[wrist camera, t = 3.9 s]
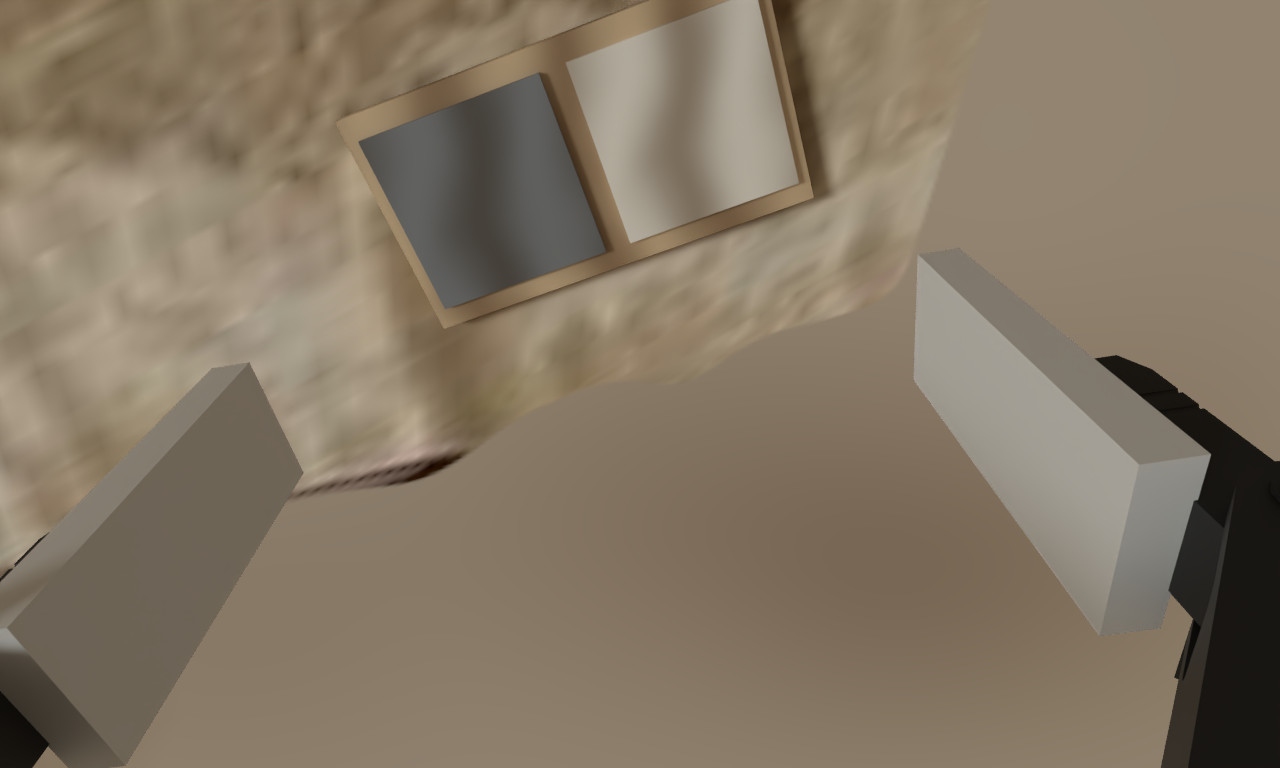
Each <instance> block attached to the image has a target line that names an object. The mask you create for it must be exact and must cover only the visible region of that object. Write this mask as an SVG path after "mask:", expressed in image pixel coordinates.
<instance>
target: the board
mask: <svg viewBox="0 0 1280 768" xmlns="http://www.w3.org/2000/svg"><path fill="white" fill-rule="evenodd" d="M335 123H336V125H337V127H338V129H339V131H340V133H341V135H342V137H343V138H344V140H345V142H346V144H347V146H348V148H349V150H350V152H351V154H352V155H353V157H354V159H355V161H356V163H357V165H358V167H359V169H360V171H361V172H362V174H363V176H364V178H365V180H366V182H367V184H368V186H369V188H370V189H371V191H372V193H373V195H374V197H375V199H376V201H377V203H378V205H379V206H380V208H381V210H382V212H383V214H384V216H385V218H386V220H387V222H388V223H389V225H390V227H391V229H392V231H393V233H394V235H395V237H396V239H397V240H398V242H399V244H400V246H401V248H402V250H403V252H404V254H405V256H406V258H407V259H408V261H409V263H410V265H411V267H412V269H413V271H414V273H415V275H416V276H417V278H418V280H419V282H420V284H421V286H422V288H423V290H424V292H425V293H426V295H427V297H428V299H429V301H430V303H431V305H432V307H433V309H434V310H435V312H436V314H437V316H438V318H439V320H440V322H441V324H442V326H443V327H444V329H445V328H448V327H451V326H454V325H456V324H459V323H462V322H465V321H468V320H471V319H473V318H476V317H479V316H482V315H485V314H487V313H490V312H493V311H496V310H499V309H502V308H504V307H507V306H510V305H513V304H516V303H519V302H521V301H524V300H527V299H530V298H533V297H535V296H538V295H541V294H544V293H547V292H550V291H552V290H555V289H558V288H561V287H564V286H566V285H569V284H572V283H575V282H578V281H581V280H583V279H586V278H589V277H592V276H595V275H597V274H600V273H603V272H606V271H609V270H612V269H614V268H617V267H620V266H623V265H626V264H629V263H631V262H634V261H637V260H640V259H643V258H645V257H648V256H651V255H654V254H657V253H660V252H662V251H665V250H668V249H671V248H674V247H676V246H679V245H682V244H685V243H688V242H691V241H693V240H696V239H699V238H702V237H705V236H708V235H710V234H713V233H716V232H719V231H722V230H724V229H727V228H730V227H733V226H736V225H739V224H741V223H744V222H747V221H750V220H753V219H755V218H758V217H761V216H764V215H767V214H770V213H772V212H775V211H778V210H781V209H784V208H787V207H789V206H792V205H795V204H798V203H801V202H803V201H806V200H809V199H812V198H814V196H813V191H812V187H811V182H810V177H809V173H808V168H807V163H806V159H805V154H804V149H803V145H802V140H801V136H800V131H799V126H798V122H797V117H796V112H795V108H794V103H793V98H792V94H791V89H790V85H789V80H788V75H787V71H786V66H785V61H784V57H783V52H782V48H781V43H780V38H779V34H778V29H777V24H776V20H775V15H774V10H773V6H772V1H771V0H645V1H643V2H640V3H638V4H635V5H633V6H630V7H627V8H625V9H622V10H620V11H617V12H614V13H612V14H609V15H607V16H604V17H601V18H599V19H596V20H594V21H591V22H588V23H586V24H583V25H581V26H578V27H575V28H573V29H570V30H568V31H565V32H562V33H560V34H557V35H555V36H552V37H550V38H547V39H544V40H542V41H539V42H537V43H534V44H531V45H529V46H526V47H524V48H521V49H518V50H516V51H513V52H511V53H508V54H505V55H503V56H500V57H498V58H495V59H492V60H490V61H487V62H485V63H482V64H479V65H477V66H474V67H472V68H469V69H467V70H464V71H461V72H459V73H456V74H454V75H451V76H448V77H446V78H443V79H441V80H438V81H435V82H433V83H430V84H428V85H425V86H422V87H420V88H417V89H415V90H412V91H409V92H407V93H404V94H402V95H399V96H396V97H394V98H391V99H389V100H386V101H384V102H381V103H378V104H376V105H373V106H371V107H368V108H365V109H363V110H360V111H358V112H355V113H352V114H350V115H347V116H345V117H342V118H340V119H338V120H337V121H335Z"/></svg>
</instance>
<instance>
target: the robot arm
mask: <svg viewBox="0 0 1280 768" xmlns="http://www.w3.org/2000/svg"><path fill="white" fill-rule="evenodd" d="M914 381H915V382H916V384H917V385H918V387H919V388H920V389H921V391H922V392H923V393H924V395H925V396H926V397H927V399H928V400H929V402H930V403H931V404H932V406H933V407H934V408H935V410H936V411H937V413H938V414H939V415H940V417H941V418H942V420H943V421H944V422H945V424H946V425H947V427H948V428H949V429H950V431H951V432H952V433H953V435H954V436H955V437H956V439H957V440H958V442H959V443H960V444H961V446H962V447H963V449H964V450H965V451H966V453H967V454H968V455H969V457H970V458H971V460H972V461H973V462H974V464H975V465H976V467H977V468H978V469H979V471H980V472H981V473H982V475H983V476H984V478H985V479H986V480H987V482H988V483H989V484H990V486H991V487H992V489H993V490H994V491H995V493H996V494H997V496H998V497H999V498H1000V500H1001V501H1002V502H1003V504H1004V505H1005V506H1006V508H1007V509H1008V511H1009V512H1010V513H1011V515H1012V516H1013V518H1014V519H1015V520H1016V522H1017V523H1018V525H1019V526H1020V527H1021V529H1022V530H1023V531H1024V533H1025V534H1026V535H1027V537H1028V538H1029V540H1030V541H1031V542H1032V544H1033V545H1034V547H1035V548H1036V549H1037V551H1038V552H1039V553H1040V555H1041V556H1042V558H1043V559H1044V560H1045V562H1046V563H1047V564H1048V566H1049V567H1050V569H1051V570H1052V571H1053V573H1054V574H1055V575H1056V577H1057V578H1058V580H1059V581H1060V582H1061V584H1062V585H1063V587H1064V588H1065V589H1066V591H1067V592H1068V593H1069V595H1070V596H1071V598H1072V599H1073V600H1074V602H1075V603H1076V604H1077V606H1078V607H1079V609H1080V610H1081V611H1082V613H1083V614H1084V616H1085V617H1086V618H1087V620H1088V621H1089V622H1090V624H1091V625H1092V626H1093V628H1094V629H1095V631H1096V632H1097V634H1098V635H1099V636H1105V635H1112V634H1120V633H1127V632H1135V631H1143V630H1151V629H1158V628H1161V625H1162V622H1163V618H1164V615H1165V611H1166V608H1167V604H1168V600H1169V598H1170V594H1172V595H1173V596H1174V598H1175V599H1176V600H1177V601H1178V602H1179V603H1180V604H1181V606H1182V607H1183V608H1184V609H1185V610H1186V611H1187V612H1188V613H1189V615H1190V616H1191V617H1192V618H1193V620H1192V624H1191V627H1190V630H1189V633H1188V636H1187V640H1186V642H1185V646H1184V649H1183V652H1182V655H1181V658H1180V661H1179V664H1178V668H1177V670H1176V674H1175V678H1177V679H1179V681H1178V686H1177V690H1176V695H1175V700H1174V705H1173V710H1172V715H1171V720H1170V725H1169V730H1168V735H1167V740H1166V745H1165V750H1164V755H1163V760H1162V765H1161V768H1280V461H1273V460H1272V459H1271V458H1270V457H1268V456H1267V455H1266V454H1264V453H1263V452H1262V451H1260V450H1259V449H1257V448H1256V447H1255V446H1253V445H1252V444H1251V443H1250V442H1248V441H1247V440H1245V439H1244V438H1243V437H1241V436H1240V435H1239V434H1238V433H1236V432H1235V431H1233V430H1232V429H1231V428H1230V427H1228V426H1227V425H1226V424H1224V423H1223V422H1221V421H1220V420H1219V419H1217V418H1216V417H1215V416H1214V415H1212V414H1211V413H1209V412H1208V411H1207V410H1206V409H1200V408H1199V404H1198V403H1196V402H1195V401H1194V400H1192V399H1191V398H1190V397H1188V396H1187V395H1186V394H1184V393H1183V392H1182V393H1178V389H1177V388H1176V387H1175V386H1173V385H1172V384H1171V383H1170V382H1168V381H1167V380H1166V379H1164V378H1163V377H1162V376H1160V375H1159V374H1158V373H1156V372H1155V371H1153V370H1152V369H1150V368H1147V367H1145V366H1142V365H1139V364H1137V363H1135V362H1132V361H1130V360H1127V359H1125V358H1122V357H1120V356H1117V355H1115V356H1108V357H1102V358H1095V359H1094V358H1093V357H1092V356H1090V355H1089V354H1088V353H1087V352H1086V351H1084V350H1083V349H1082V348H1081V347H1079V346H1078V345H1077V344H1076V343H1074V342H1073V341H1072V340H1071V339H1070V338H1068V337H1067V336H1066V335H1065V334H1064V333H1062V332H1061V331H1060V330H1059V329H1057V328H1056V327H1055V326H1054V325H1053V324H1051V323H1050V322H1049V321H1048V320H1046V319H1045V318H1044V317H1043V316H1041V315H1040V314H1039V313H1038V312H1037V311H1035V310H1034V309H1033V308H1032V307H1031V306H1029V305H1028V304H1027V303H1026V302H1024V301H1023V300H1022V299H1021V298H1019V297H1018V296H1017V295H1016V294H1015V293H1013V292H1012V291H1011V290H1010V289H1008V288H1007V287H1006V286H1005V285H1004V284H1002V283H1001V282H1000V281H999V280H998V279H996V278H995V277H994V276H993V275H991V274H990V273H989V272H988V271H987V270H985V269H984V268H983V267H982V266H980V265H979V264H978V263H977V262H975V261H974V260H973V259H972V258H971V257H969V256H968V255H967V254H966V253H964V252H963V251H962V250H961V249H960V248H956V249H950V250H943V251H937V252H931V253H925V254H919V255H918V270H917V298H916V327H915V357H914ZM302 475H303V471H302V469H301V467H300V465H299V463H298V461H297V459H296V456H295V454H294V452H293V450H292V448H291V446H290V444H289V442H288V440H287V438H286V436H285V434H284V432H283V430H282V428H281V426H280V424H279V422H278V420H277V418H276V416H275V414H274V412H273V410H272V408H271V406H270V404H269V402H268V400H267V397H266V395H265V393H264V391H263V389H262V387H261V385H260V383H259V381H258V379H257V377H256V375H255V373H254V371H253V369H252V367H251V365H250V363H249V362H248V363H242V364H236V365H230V366H224V367H217V368H212V369H211V370H210V371H209V372H208V373H207V374H206V375H205V376H204V377H203V378H202V379H201V380H200V381H199V382H198V383H197V384H196V385H195V386H194V387H193V388H192V389H191V390H190V391H189V392H188V393H187V394H186V395H185V396H184V397H183V398H182V399H181V400H180V401H179V402H178V403H177V404H176V405H175V406H174V407H173V408H172V409H171V410H170V411H169V412H168V413H167V414H166V415H165V416H164V417H163V418H162V419H161V420H160V421H159V422H158V423H157V424H156V425H155V427H154V428H153V429H152V430H151V431H150V432H149V433H148V434H147V435H146V436H145V437H144V438H143V439H142V440H141V441H140V442H139V443H138V444H137V445H136V446H135V447H134V448H133V449H132V450H131V451H130V452H129V453H128V454H127V455H126V456H125V457H124V458H123V459H122V460H121V461H120V462H119V463H118V464H117V465H116V466H115V467H114V468H113V469H112V470H111V471H110V472H109V473H108V474H107V475H106V476H105V477H104V478H103V479H102V480H101V481H100V482H99V483H98V484H97V485H96V486H95V487H94V488H93V489H92V490H91V491H90V492H89V493H88V494H87V495H86V496H85V497H84V498H83V499H82V500H81V501H80V502H79V503H78V504H77V505H76V506H75V507H74V508H73V509H72V510H71V511H70V512H69V513H68V514H67V515H66V516H65V517H64V518H63V519H62V520H61V521H60V522H59V523H58V524H57V525H56V526H55V527H54V528H53V529H52V530H51V531H50V532H49V533H47V534H46V535H45V536H43V537H42V538H40V539H39V540H38V541H37V542H36V543H35V544H34V545H33V546H32V547H31V548H30V549H29V550H28V551H27V552H26V553H25V554H24V555H23V556H22V557H21V558H20V559H19V560H18V561H17V562H16V563H15V564H14V565H15V568H14V569H9V570H8V571H7V572H6V573H5V574H4V575H3V576H2V577H1V578H0V768H32V767H33V766H34V765H35V763H36V762H37V760H38V759H39V758H40V756H41V755H42V754H43V752H44V751H45V749H46V748H47V747H48V746H49V748H50V749H51V750H52V751H53V752H54V753H55V754H56V755H57V756H58V757H59V758H60V759H61V760H62V761H63V763H64V764H65V765H66V766H67V767H68V768H111V767H118V766H126V764H127V762H128V761H129V759H130V757H131V756H132V754H133V752H134V751H135V749H136V748H137V746H138V744H139V743H140V741H141V739H142V738H143V736H144V734H145V733H146V731H147V729H148V728H149V726H150V725H151V723H152V721H153V720H154V717H155V716H156V715H157V713H158V711H159V710H160V708H161V706H162V705H163V703H164V701H165V700H166V698H167V696H168V695H169V693H170V692H171V690H172V688H173V687H174V685H175V683H176V682H177V680H178V678H179V677H180V675H181V674H182V672H183V670H184V669H185V667H186V665H187V663H188V662H189V660H190V659H191V657H192V655H193V654H194V652H195V651H196V649H197V647H198V646H199V644H200V642H201V641H202V639H203V637H204V636H205V634H206V632H207V631H208V629H209V627H210V626H211V624H212V623H213V621H214V619H215V618H216V616H217V614H218V613H219V611H220V609H221V608H222V606H223V604H224V603H225V601H226V599H227V598H228V596H229V595H230V593H231V591H232V590H233V588H234V586H235V585H236V583H237V581H238V580H239V578H240V577H241V575H242V573H243V572H244V570H245V568H246V566H247V565H248V563H249V561H250V560H251V558H252V557H253V555H254V553H255V552H256V550H257V549H258V547H259V545H260V544H261V542H262V540H263V539H264V537H265V535H266V534H267V532H268V530H269V529H270V527H271V526H272V524H273V522H274V520H275V519H276V517H277V516H278V514H279V512H280V511H281V509H282V507H283V506H284V504H285V503H286V501H287V499H288V498H289V496H290V494H291V493H292V491H293V489H294V488H295V486H296V484H297V483H298V481H299V479H300V478H301V476H302Z"/></svg>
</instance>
